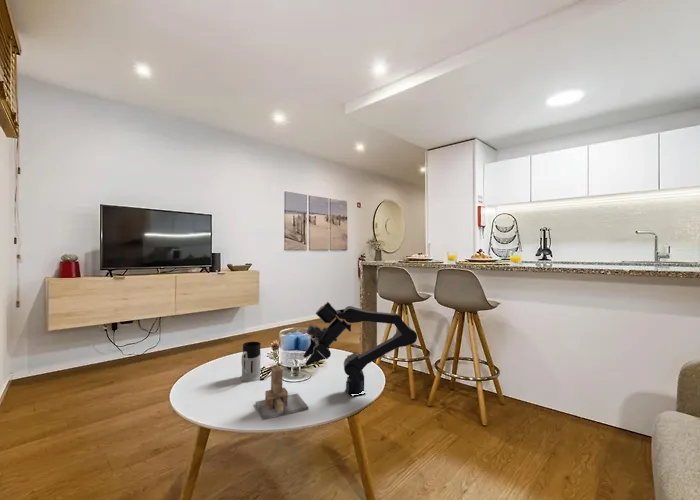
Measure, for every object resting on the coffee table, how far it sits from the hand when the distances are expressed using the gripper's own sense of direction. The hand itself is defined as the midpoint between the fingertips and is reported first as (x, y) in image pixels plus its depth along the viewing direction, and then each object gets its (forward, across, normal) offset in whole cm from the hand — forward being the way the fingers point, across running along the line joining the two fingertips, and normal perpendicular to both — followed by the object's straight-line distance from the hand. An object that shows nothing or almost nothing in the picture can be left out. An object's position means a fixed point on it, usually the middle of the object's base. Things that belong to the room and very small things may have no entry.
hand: (304, 360), depth 129 cm
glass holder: (+26, -19, -6) cm, 33 cm away
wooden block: (+16, +8, +1) cm, 19 cm away
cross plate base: (+16, +8, +3) cm, 18 cm away
